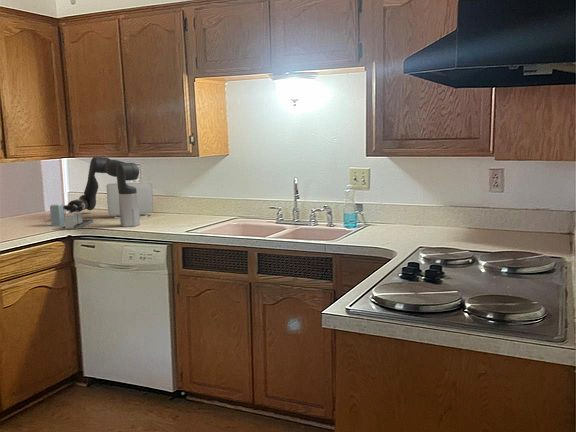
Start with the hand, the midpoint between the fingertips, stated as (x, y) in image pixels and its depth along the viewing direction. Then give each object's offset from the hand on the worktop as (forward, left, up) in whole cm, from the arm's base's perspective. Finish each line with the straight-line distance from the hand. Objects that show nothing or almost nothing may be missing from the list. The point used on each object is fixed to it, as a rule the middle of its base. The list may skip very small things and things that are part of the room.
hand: (65, 210), depth 327 cm
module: (-2, +11, -7) cm, 13 cm away
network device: (-28, -22, -7) cm, 37 cm away
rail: (-14, +12, -7) cm, 20 cm away
